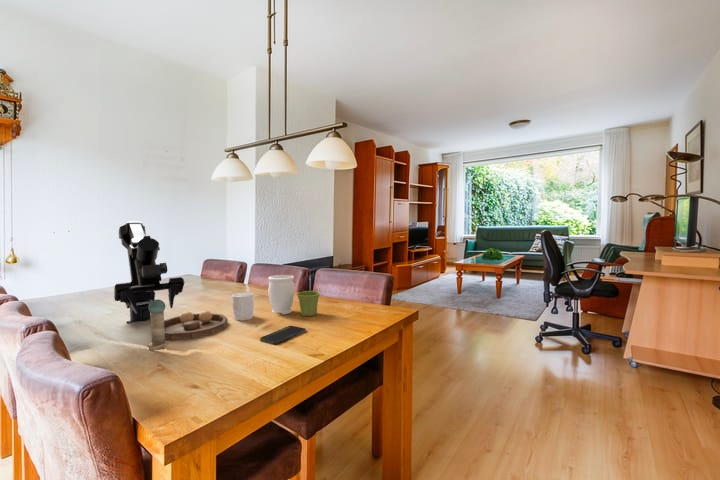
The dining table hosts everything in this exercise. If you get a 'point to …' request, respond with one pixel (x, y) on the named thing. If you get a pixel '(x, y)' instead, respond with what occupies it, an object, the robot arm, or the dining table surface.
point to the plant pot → (308, 302)
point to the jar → (281, 293)
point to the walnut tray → (193, 327)
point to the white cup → (243, 305)
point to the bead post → (157, 325)
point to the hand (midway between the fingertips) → (155, 310)
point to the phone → (282, 335)
